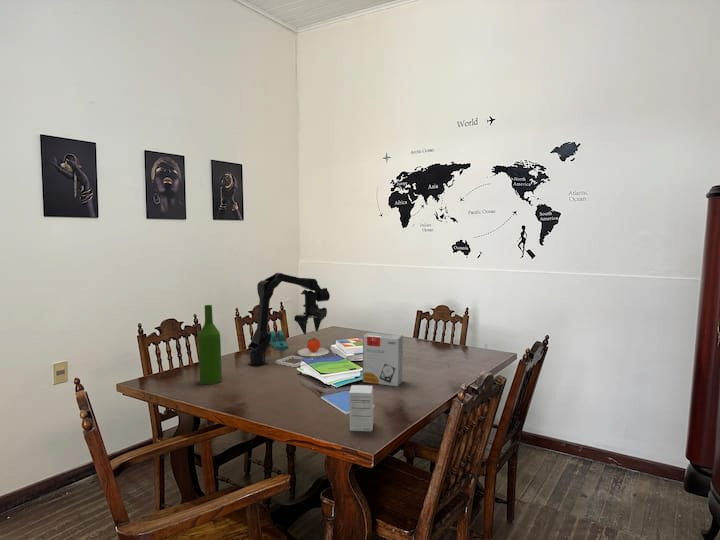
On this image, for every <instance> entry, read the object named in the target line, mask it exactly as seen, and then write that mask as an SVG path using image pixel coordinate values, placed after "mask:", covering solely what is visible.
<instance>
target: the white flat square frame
mask: <svg viewBox="0 0 720 540" xmlns="http://www.w3.org/2000/svg"><path fill="white" fill-rule="evenodd" d="M292 358H293V359H292ZM302 358H303V357H302V356H297V355H290V356H286V357H283V358H280V359H277V360H275V364H276V363H277V364H276V365H280V364H281V366H284V365H286V366H285V367H289V366H291V367H290V368H293V367H296V368H298V366H299V367H301V366H300V363H301V362H302V361H299V362H297V363H290V362H287V361H290V360H289V359H291V360H295V359H302ZM286 360H287V361H286ZM283 361H284V362H283Z"/></svg>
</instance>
